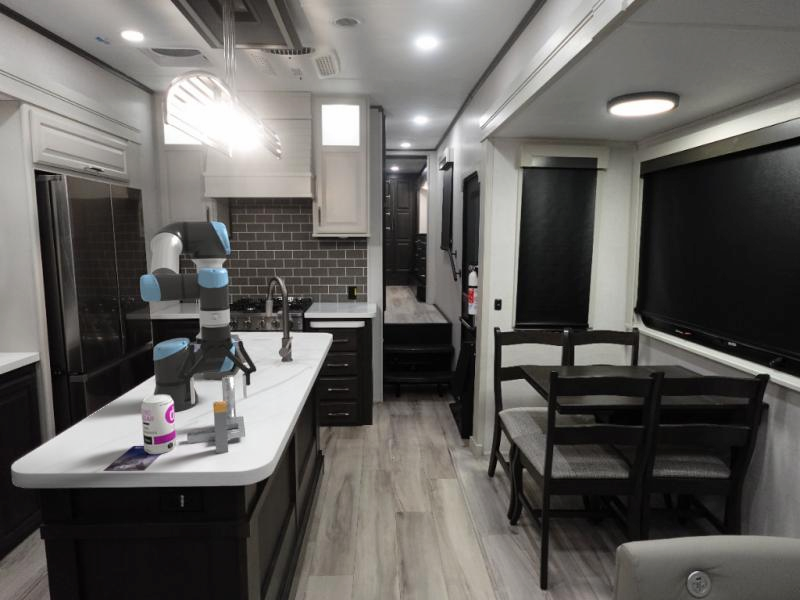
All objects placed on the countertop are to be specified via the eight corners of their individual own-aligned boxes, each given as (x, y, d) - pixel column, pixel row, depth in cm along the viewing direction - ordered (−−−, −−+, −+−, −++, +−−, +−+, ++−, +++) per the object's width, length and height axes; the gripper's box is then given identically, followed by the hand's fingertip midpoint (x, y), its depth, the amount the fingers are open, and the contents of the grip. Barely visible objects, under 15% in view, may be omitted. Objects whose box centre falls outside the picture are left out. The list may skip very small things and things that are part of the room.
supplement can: (181, 442, 142) (177, 393, 140) (168, 455, 134) (165, 403, 132) (153, 442, 142) (149, 393, 140) (139, 455, 134) (135, 403, 132)
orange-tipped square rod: (215, 453, 135) (213, 406, 133) (216, 448, 138) (213, 402, 136) (228, 452, 136) (226, 404, 134) (228, 447, 139) (225, 400, 137)
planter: (188, 368, 200) (213, 327, 197) (196, 362, 208) (220, 323, 205) (223, 390, 201) (248, 350, 198) (230, 384, 209) (254, 345, 206)
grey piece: (186, 449, 138) (183, 395, 135) (190, 426, 154) (187, 377, 151) (245, 441, 143) (243, 389, 141) (242, 419, 159) (240, 372, 157)
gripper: (163, 330, 124) (169, 409, 127) (264, 324, 133) (266, 398, 135) (166, 325, 131) (171, 400, 134) (261, 319, 140) (264, 390, 142)
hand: (219, 399), depth 135 cm, fingers open, 13 cm apart
